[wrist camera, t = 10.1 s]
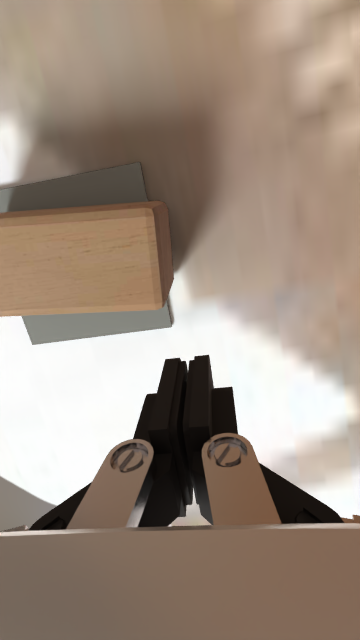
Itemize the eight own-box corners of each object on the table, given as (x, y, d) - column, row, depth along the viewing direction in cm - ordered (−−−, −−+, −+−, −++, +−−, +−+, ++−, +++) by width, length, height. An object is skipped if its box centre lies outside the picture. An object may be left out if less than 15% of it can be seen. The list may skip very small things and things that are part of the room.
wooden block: (168, 199, 37) (3, 212, 38) (155, 203, 27) (-61, 219, 29) (175, 284, 40) (24, 291, 42) (165, 313, 31) (-27, 321, 33)
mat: (140, 162, 36) (139, 162, 35) (171, 325, 43) (171, 327, 43) (-21, 194, 38) (-25, 194, 38) (34, 342, 46) (32, 344, 45)
